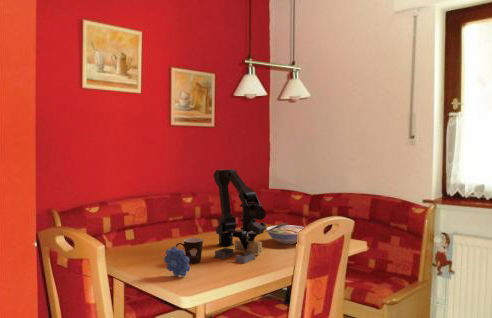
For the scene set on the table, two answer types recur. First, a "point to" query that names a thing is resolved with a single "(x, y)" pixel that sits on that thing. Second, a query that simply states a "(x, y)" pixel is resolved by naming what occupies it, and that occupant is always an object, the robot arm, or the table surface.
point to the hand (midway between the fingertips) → (248, 248)
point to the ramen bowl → (284, 233)
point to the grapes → (177, 261)
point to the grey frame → (230, 252)
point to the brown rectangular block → (249, 246)
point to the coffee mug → (193, 249)
